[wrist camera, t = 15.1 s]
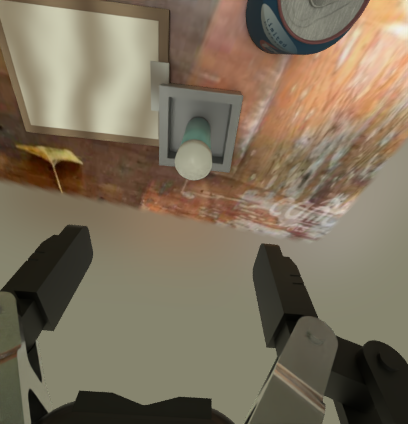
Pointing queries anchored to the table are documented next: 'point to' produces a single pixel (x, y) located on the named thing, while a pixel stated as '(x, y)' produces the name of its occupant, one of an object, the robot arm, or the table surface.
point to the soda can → (300, 23)
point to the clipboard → (87, 67)
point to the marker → (195, 150)
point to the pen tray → (203, 107)
